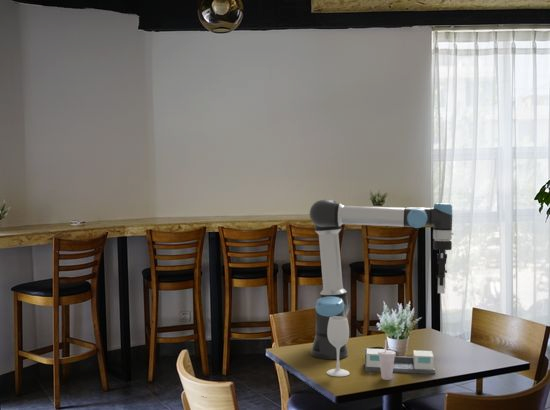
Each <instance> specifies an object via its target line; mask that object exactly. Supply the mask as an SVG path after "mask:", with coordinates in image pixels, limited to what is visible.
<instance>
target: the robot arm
mask: <svg viewBox="0 0 550 410" xmlns="http://www.w3.org/2000/svg"><path fill="white" fill-rule="evenodd" d="M309 217H310V220H311V222H312V223H313V224H314V232H315V233H317V235H318V242H319V243H318V244H319V254H320V263H321V264H320V265H321V279H322V290H321V291H320V292H319V295H320V298H318V299H317V300H316V302H315V307H314V308H315V336H314V340H313V343H312V346H311V356H312V357H315V358H316V359H321V360H337V350H336V347H334V346H333V345H332V344H331V343H330V342H329V340H328V336H327V328H328V322H329V318H330V317H333V316H342V317H346V318H348V316H349V313H350V308H351V307H350V303H349V301H348V293H347V292H348V291H347V290H346V289H345V288H344V285H343V274H342V262H341V250H340V249H341V248H340V237H339V233H340V232H341V230H342V225H356V226H357V225H359V226H360V225H362V226H381V227H382V226H383V227H384V226H385V227H386V226H387V227H405V228H415V229H420V228H422V227H424V226H429V227H431V226H433V231H432V239H433V241H432V249H433V250H435V251H438V252H439V253H437V257H436V259H437V264H438V268H437V269H438V274H437V275H435V276H436V278H437V294H441V295H442V294H445V291H446V290H445V289H446V274H447V273H448V270H447V269H446V264H447V259H448V254H447V253H446V252H447V251H451V250H452V247H453V246H452V245H453V242H452V239H453V235H454V232H453V229H452V228H453V206H452V204H451V203H447V202H445V203H444V202H443V203H442V202H441V203H439V202H436V203H434V204H433V207H414V206H413V207H406V208H405V207H388V206H387V207H385V206H384V207H382V206H359V205H358V206H357V205H343V204H342V203H340V202H336V201H335V200H333V199H319V200H317V201H315V202H314V203H313V204H312V205H311V206H310V209H309ZM348 353H349V349H348V347H347V343H346V344H345V345H344V346H342V347H341V348H340V352H339V360H340V359H343V358H346V357H348V355H349V354H348Z"/></svg>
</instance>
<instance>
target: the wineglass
mask: <svg viewBox="0 0 550 410" xmlns="http://www.w3.org/2000/svg"><path fill="white" fill-rule="evenodd" d="M327 336H328V340H329V342H330V343H331V344H332V345H333V346H334V347H336V350H337V359H336V363H335V364H336V365H335V368H332V369H329V370H327V371H326V374H327V375H328V376H331V377H341V378H342V377H348V376H349V375H350V371H348V370H347V369H343V368H341V364H340V359H339V352H340V348H341V347H342V346H344V345H345V344H346V345H347V343H348V341H349V338H350V327H349V320H348V317H342V316H333V317H330V318H329V322H328V328H327Z"/></svg>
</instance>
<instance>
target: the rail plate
mask: <svg viewBox="0 0 550 410" xmlns="http://www.w3.org/2000/svg"><path fill="white" fill-rule="evenodd" d="M364 357H365V362H364V363H365V364H364V371H365V372H378V373H381V368H380V367H366V354H365V355H364ZM393 373H399V374H401V373H402V374H403V373H404V374H422V375H424V374H425V375H426V374H427V375H435V374H436V369H435V367H434V370H429V369H414V364H413V356H402V355H401V356H400V355H399V356H397V355H396V356H395V358H394V366H393Z"/></svg>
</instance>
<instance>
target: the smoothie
mask: <svg viewBox="0 0 550 410" xmlns="http://www.w3.org/2000/svg"><path fill="white" fill-rule="evenodd" d="M387 342H388V341H387V339H385V340H384V349H385V350H380V351H378V355H379V360H380V368H381V372H380V375H381V379H382V380H385V381H386V380H387V381H389V380H392V379H393V373H394V372H393V366H394V358H395V356H397V353H396V351H394V350H390V349H387Z"/></svg>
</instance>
